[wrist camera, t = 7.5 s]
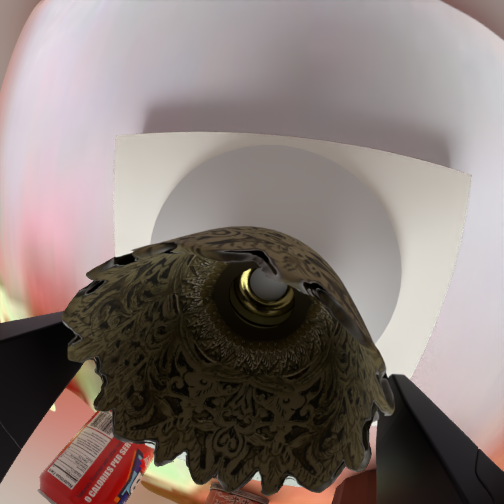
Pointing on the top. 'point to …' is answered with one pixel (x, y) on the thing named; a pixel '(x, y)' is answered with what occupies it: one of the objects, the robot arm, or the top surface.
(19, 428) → the robot arm
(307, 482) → the ornate brown lamp shade
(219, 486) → the lighter
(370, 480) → the muffin
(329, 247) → the scale
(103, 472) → the soda can
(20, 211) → the top surface
